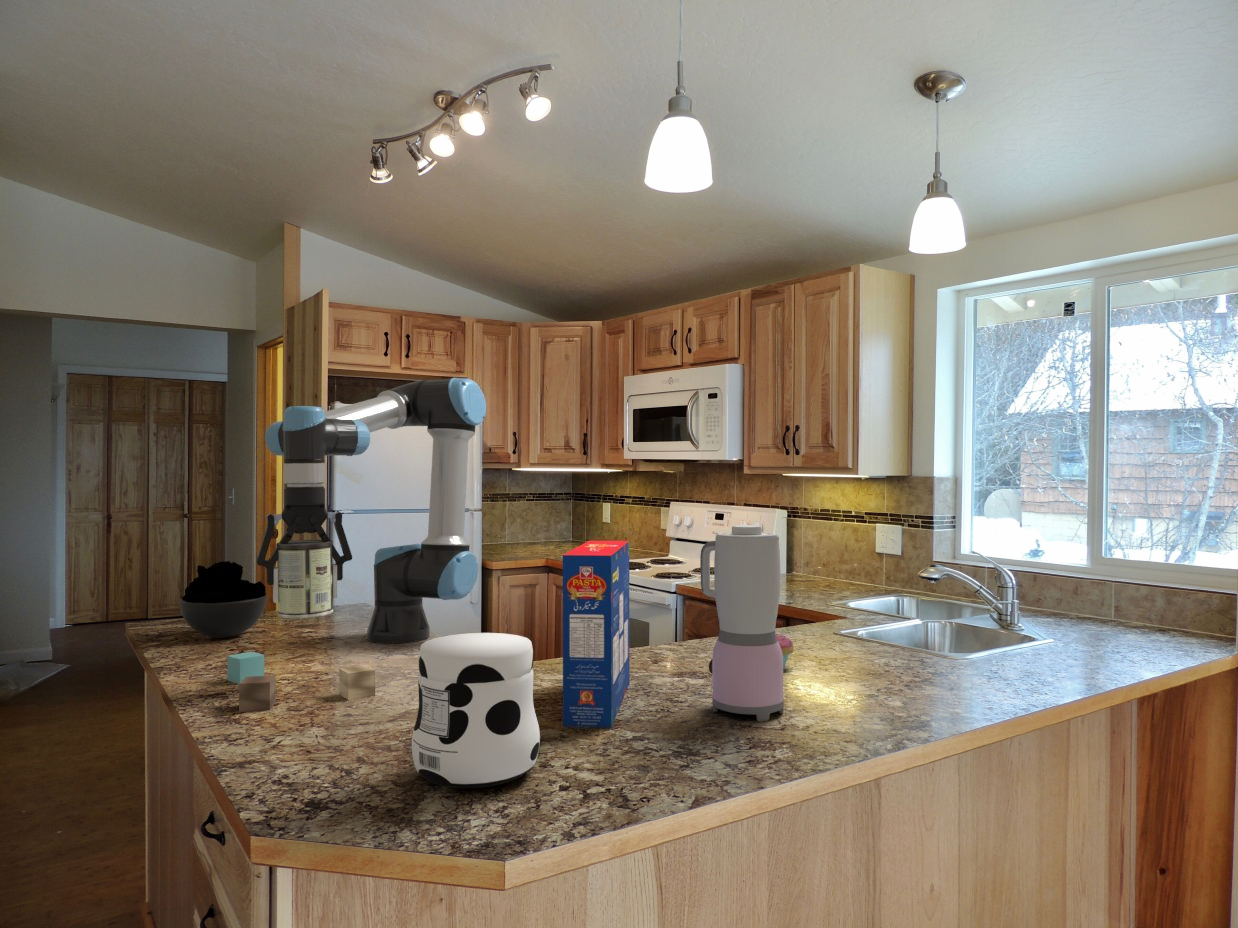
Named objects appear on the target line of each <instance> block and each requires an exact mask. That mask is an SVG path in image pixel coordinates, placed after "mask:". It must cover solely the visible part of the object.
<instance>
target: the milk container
mask: <svg viewBox="0 0 1238 928" xmlns="http://www.w3.org/2000/svg"><path fill="white" fill-rule="evenodd" d="M418 672H419V673H418V677H417V682H418V685H417V686H418V709H417V711H418V712H417V715H416V716H417V717H416V720H415V724H414V727H413V730H412V731H413V732H412V737H411V754H412V759H413V766H414V768H415V770H416V772H417V774H418V775H419V776H421V777H422V778H423V779H425V780H426V781H427V782H430V783H431V784H434V785H438V786H442V787H445V788H457V789H477V788H488V787H494V786H499V785H504V784H507V783H509V782H512V781H515V780H518V779H520V778H521V777H523V776H524V775H526V773H528V772H529V771H530V770H532V769H533V768H534V766H535V764H536V761H537V760H538V756H539V752H540V751H539V749H540V743H541V740H540V739H541V734H540V726H539V722H538V718H537V715H536V709H535V707H534V649H533V644H532V641H531V640H530V639H529V638H528V637H526V636H522V635H518V634H511V633H500V632H499V633H498V632H471V633H470V632H469V633H459V634H451V635H445V636H439V637H436V638H435V637H434V638H432V639H428V640H426V641H424V642H423V643H422V644H420V648H419V656H418Z"/></svg>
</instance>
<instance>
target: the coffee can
mask: <svg viewBox="0 0 1238 928" xmlns="http://www.w3.org/2000/svg"><path fill="white" fill-rule="evenodd" d="M333 542H334V541H333V540H332V539H330V541H328V542H322V540H321V539H296V540H289V542H288V544H279V542H277V543H275V544H276V545H275V548H276V547H278V549H279V559H278V560H277V562H276V567H277V568H278V603H277V617H279V618H282V619H295V620H296V619H310V618H319V617H324V616H328V615H331V614H332V613H334V598H333V585H332V564H333V557H332V544H333ZM333 545H334V544H333Z"/></svg>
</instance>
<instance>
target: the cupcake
mask: <svg viewBox="0 0 1238 928" xmlns="http://www.w3.org/2000/svg"><path fill="white" fill-rule="evenodd" d="M775 634H776V638H777V641H778V643H779V645H780V647H781V650H782V654H783V670H784V669H785V668H786V663H787V661H788V658H789V655H791V654H793V652H794V650H795V649H794V642H793V641H792V640H791V639H790V638H788V637H787V636H785V635H783V634H778V633H775Z"/></svg>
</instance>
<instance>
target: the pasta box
mask: <svg viewBox="0 0 1238 928" xmlns="http://www.w3.org/2000/svg"><path fill="white" fill-rule="evenodd" d="M630 645H631V644H630V540H587V541H586V542H584V543H583V544H581V545H578V546H576V547H575V548H573V549H571V550H569V551H568V552H566V553H564V554H562V726H563V727H580V728H581V727H583V728H605V729H606V728H608V729H612V728H613V725H614V722H615V721H616V718H617V715H618V713H619V710H620V708H621V705H622V704H623V700H624V698H625V696H626V693H627V691H628V689H629V686H630V681H631V679H630V677H631V675H630V667H631V666H630V663H631V661H630V658H631V657H630Z"/></svg>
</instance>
